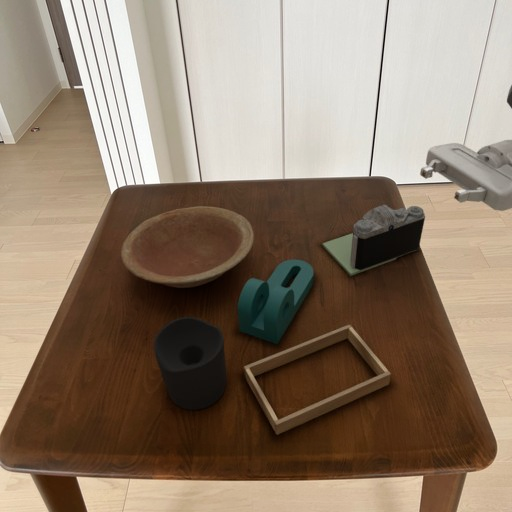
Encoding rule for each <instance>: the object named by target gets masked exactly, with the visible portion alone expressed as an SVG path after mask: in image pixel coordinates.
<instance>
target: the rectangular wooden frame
mask: <svg viewBox="0 0 512 512" xmlns="http://www.w3.org/2000/svg"><path fill="white" fill-rule="evenodd" d="M345 340H348V341H349V342H350V343H351V345H352V346H353V347H354V349H355V350H356V351H357V353H359V355H360V356H361V357H362V358H363V360H364V361H365V362H366V363H367V365H368V366H369V367H370V368H371V369H372V371H373V372H374V373H375V375H376V376H374V377H372V378H370V379H367V380H365V381H362V382H360V383H358V384H356V385H353V386H352V387H349V388H346V389H344V390H343V391H340V392H338V393H335V394H333V395H331V396H329V397H327V398H324V399H322V400H320V401H318V402H316V403H313V404H310V405H308V406H306V407H304V408H302V409H299V410H297V411H295V412H292V413H290V414H288V415H285V416H284V417H282V418H278V417H277V415H276V414H275V413H276V412H275V411H274V410H273V408H272V406H271V404H270V403H269V401H268V399H267V397H266V396H265V394H264V392H263V389H262V388H261V386H260V385H259V383H258V382H257V380H256V378H255V377H257V376H259V375H262V374H264V373H267V372H269V371H272V370H274V369H276V368H279V367H281V366H283V365H286V364H289V363H291V362H293V361H296V360H298V359H301V358H303V357H305V356H308V355H310V354H313V353H315V352H318V351H320V350H323V349H325V348H328V347H330V346H333V345H336V344H337V343H340V342H342V341H345ZM243 372H244V378H245V380H246V382H247V384H248V385H249V387H250V389H251V391H252V393H253V395H254V397H255V399H256V400H257V402H258V404H259V406H260V408H261V409H262V411H263V413H264V415H265V417H266V419H267V420H268V422H269V424H270V425H271V427H272V430H273V432H274V433H275V434H276V436H278V435H280V434H283V433H284V432H287V431H289V430H291V429H294V428H296V427H298V426H300V425H303V424H305V423H307V422H309V421H312V420H313V419H315V418H318V417H321V416H322V415H325V414H327V413H329V412H331V411H334V410H336V409H338V408H340V407H342V406H344V405H347V404H349V403H351V402H353V401H355V400H358V399H361V398H362V397H365V396H367V395H369V394H372V393H373V392H375V391H378V390H380V389H383V388H384V387H387V386H389V385H390V381H391V376H392V373H391V372H390V371H389V369H387V367H386V366H385V364H383V362H382V361H381V360H380V359H379V358H378V357H377V355H376V354H375V353H374V352H373V351H372V349H371V348H370V347H369V346H368V344H367V343H366V342H365V341H364V340H363V338H362V337H361V336H360V335H359V333H357V331H356V330H355V329H354V328H353V326H352V325H351V324H347V325H345V326H341V327H339V328H337V329H335V330H332V331H329V332H327V333H324V334H321V335H320V336H319V335H318V336H317V337H314V338H312V339H310V340H307V341H304V342H301V343H300V344H296V345H294V346H292V347H288V348H287V349H284V350H282V351H280V352H277V353H274V354H272V355H269V356H266V357H263V358H262V359H259V360H257V361H254V362H251V363H249V364H247V365H244V366H243Z"/></svg>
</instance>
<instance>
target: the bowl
mask: <svg viewBox="0 0 512 512" xmlns="http://www.w3.org/2000/svg"><path fill="white" fill-rule="evenodd" d="M254 240H255V235H254V230H253V227H252V225H251V222H249V220H248V219H246V218H245V217H244V216H243V215H241V214H239V213H237V212H235V211H233V210H231V209H226V208H223V207H217V206H207V205H206V206H204V205H203V206H201V205H200V206H199V205H198V206H197V205H196V206H190V207H182V208H177V209H173V210H170V211H166V212H162V213H160V214H157V215H155V216H153V217H149V218H147V219H145V220H144V221H142V222H141V223H140V224H139V225H137V226H136V227H135V228H134V229H133V230H132V231H131V232H130V233H129V234H128V235H127V236H126V238H125V240H124V241H123V243H122V245H121V250H120V256H121V257H120V258H121V261H122V263H123V265H124V266H125V268H126V269H127V270H128V271H129V272H130V273H131V274H132V275H134V276H135V277H137V278H139V279H142V280H145V281H147V282H150V283H155V284H161V285H165V286H167V287H171V288H178V289H186V288H187V289H188V288H189V289H190V288H195V287H199V286H203V285H205V284H208V283H210V282H213V281H215V280H217V279H218V278H219V277H221V276H223V274H225V273H226V272H228V271H230V270H231V269H233V268H234V267H236V266H237V265H238V264H239V263H241V262H242V261H243V260H244V259H245V258H246V257H247V255H248V254H249V253H250V251H251V250H252V247H253V245H254Z"/></svg>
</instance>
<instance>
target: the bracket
mask: <svg viewBox="0 0 512 512" xmlns="http://www.w3.org/2000/svg"><path fill="white" fill-rule="evenodd" d="M294 276H295V278H294V279H293V281H292V283H291V284H290V286H289V287H287V286H288V284H289V282H290V280H291V279H292V277H294ZM313 285H314V268H313V266H312V265H311V264H309V263H308V262H306V261H304V260H301V259H287V260H284V261H282V262H281V263H279V264H278V265H277V267H276V268H275V269H274V270H273V272H272V273H271V274H270V276H269V278H268V279H267V281H265V280H261V279H258V278H255V277H252V278H249V279H248V280H247V281H246V282H245V284H244V286H243V287H242V290H241V291H240V294H239V298H238V302H237V317H238V328H239V332H241V333H244V334H247V335H250V336H252V337H255V338H258V339H260V340H263V341H267V342H268V343H269V342H270V343H273V344H275V345H278V344H279V343H280V341H281V339H282V337H283V336H284V335H285V333H286V330H287V329H288V327H289V326H290V324H291V322H292V321H293V319H294V318H295V316H296V314H297V312H298V311H299V309H300V307H301V306H302V304H303V302H304V301H305V299H306V297H307V295H308V293H309V292H310V290H311V289H312V287H313Z"/></svg>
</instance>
